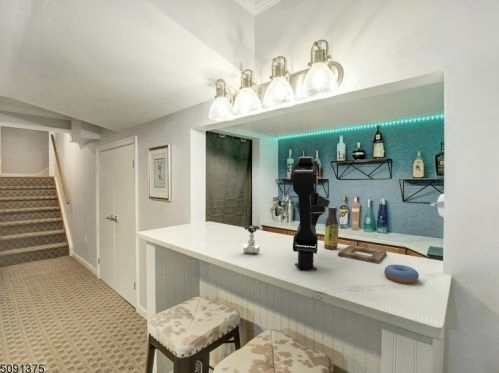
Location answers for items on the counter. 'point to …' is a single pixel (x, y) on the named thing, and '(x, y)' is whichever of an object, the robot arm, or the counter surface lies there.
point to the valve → (251, 241)
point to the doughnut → (401, 273)
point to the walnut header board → (375, 258)
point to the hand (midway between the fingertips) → (309, 226)
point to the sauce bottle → (331, 229)
